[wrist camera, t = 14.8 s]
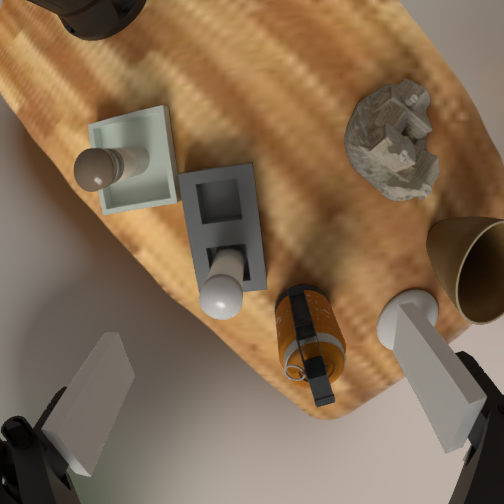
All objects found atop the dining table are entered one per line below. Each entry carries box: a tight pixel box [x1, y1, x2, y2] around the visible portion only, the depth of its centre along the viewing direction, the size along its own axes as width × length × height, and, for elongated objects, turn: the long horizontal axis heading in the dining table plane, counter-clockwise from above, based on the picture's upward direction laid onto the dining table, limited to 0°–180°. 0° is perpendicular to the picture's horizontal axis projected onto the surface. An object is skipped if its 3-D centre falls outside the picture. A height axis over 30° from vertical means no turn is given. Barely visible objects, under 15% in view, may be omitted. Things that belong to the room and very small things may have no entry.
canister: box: [275, 285, 346, 407], centre depth 43 cm, size 9×11×20 cm
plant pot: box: [426, 217, 504, 325], centre depth 40 cm, size 15×15×16 cm
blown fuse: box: [74, 146, 150, 192], centre depth 38 cm, size 5×5×14 cm
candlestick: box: [376, 289, 438, 350], centre depth 39 cm, size 13×13×30 cm
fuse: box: [199, 245, 245, 320], centre depth 42 cm, size 5×5×14 cm
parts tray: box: [88, 105, 182, 215], centre depth 43 cm, size 14×12×3 cm
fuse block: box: [178, 162, 267, 293], centre depth 46 cm, size 18×10×4 cm, turn 7°
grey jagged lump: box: [344, 78, 440, 202], centre depth 37 cm, size 16×16×15 cm
